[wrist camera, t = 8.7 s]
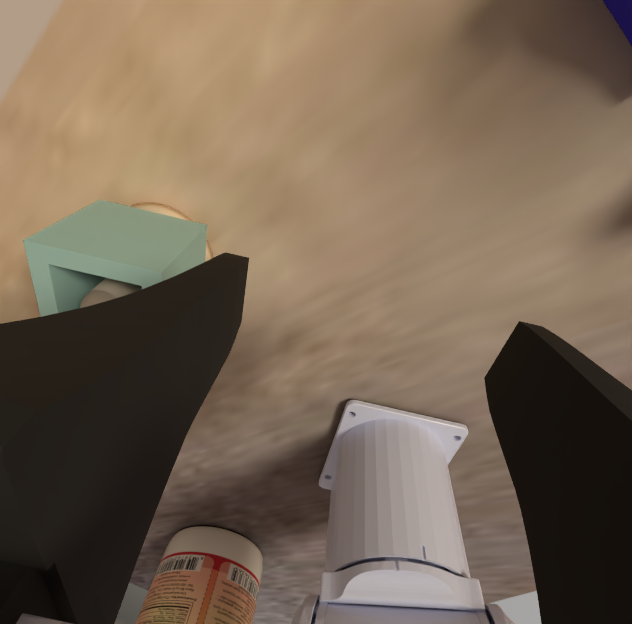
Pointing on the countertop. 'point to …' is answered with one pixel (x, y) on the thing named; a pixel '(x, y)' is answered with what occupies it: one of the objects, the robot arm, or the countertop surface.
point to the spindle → (119, 288)
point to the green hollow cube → (109, 252)
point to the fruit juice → (205, 579)
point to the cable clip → (622, 15)
